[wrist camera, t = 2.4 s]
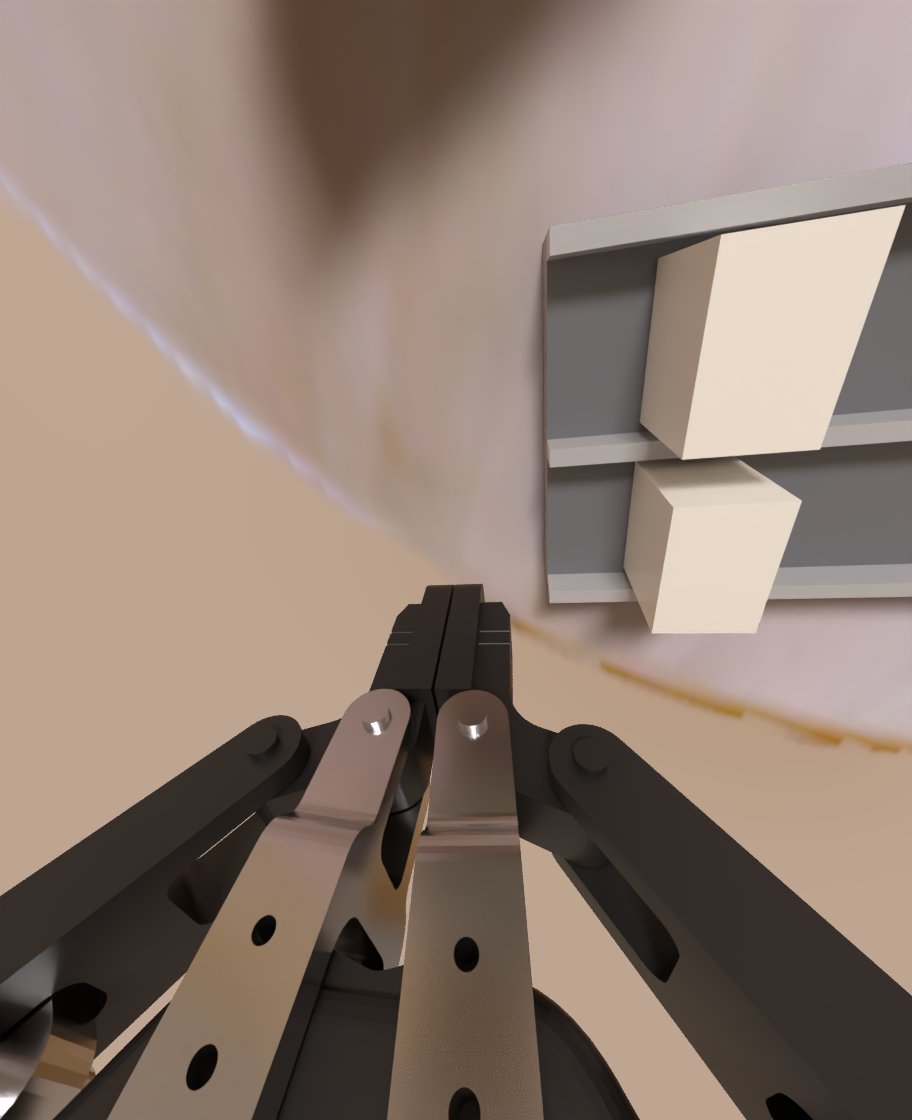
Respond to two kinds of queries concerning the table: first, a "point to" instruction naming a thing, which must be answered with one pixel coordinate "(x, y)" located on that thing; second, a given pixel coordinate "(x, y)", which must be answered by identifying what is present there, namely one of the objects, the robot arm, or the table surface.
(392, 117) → the table surface
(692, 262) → the near tab
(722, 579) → the far tab
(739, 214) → the switch panel
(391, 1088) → the robot arm
